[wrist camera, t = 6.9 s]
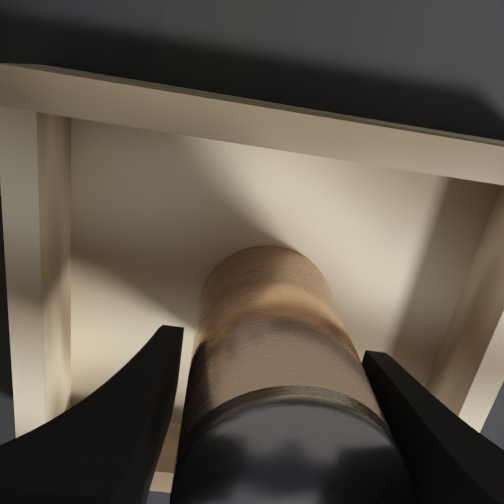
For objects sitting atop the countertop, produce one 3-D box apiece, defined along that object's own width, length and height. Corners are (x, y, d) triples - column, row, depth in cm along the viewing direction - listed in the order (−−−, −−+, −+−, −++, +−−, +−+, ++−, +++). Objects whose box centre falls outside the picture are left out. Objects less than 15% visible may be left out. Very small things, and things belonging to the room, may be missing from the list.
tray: (412, 456, 20) (440, 519, 17) (51, 417, 19) (18, 477, 16) (535, 145, 15) (603, 162, 12) (44, 64, 13) (-8, 62, 11)
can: (312, 368, 17) (369, 593, 10) (190, 350, 17) (155, 574, 9) (345, 258, 15) (447, 433, 8) (211, 234, 15) (188, 399, 8)
